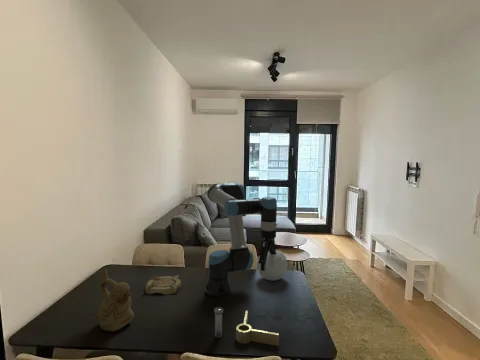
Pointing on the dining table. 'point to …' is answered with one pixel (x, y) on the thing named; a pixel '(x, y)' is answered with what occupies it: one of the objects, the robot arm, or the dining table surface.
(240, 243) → the robot arm
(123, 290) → the ceramic vessel
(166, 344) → the dining table surface
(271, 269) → the decorative sphere
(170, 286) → the ashtray
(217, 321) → the pin
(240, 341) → the hinge
